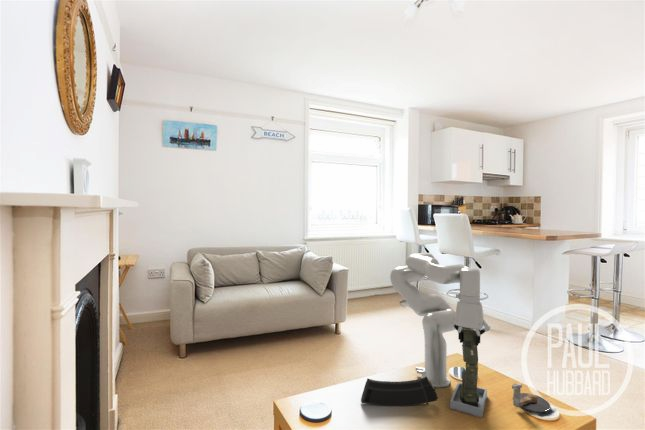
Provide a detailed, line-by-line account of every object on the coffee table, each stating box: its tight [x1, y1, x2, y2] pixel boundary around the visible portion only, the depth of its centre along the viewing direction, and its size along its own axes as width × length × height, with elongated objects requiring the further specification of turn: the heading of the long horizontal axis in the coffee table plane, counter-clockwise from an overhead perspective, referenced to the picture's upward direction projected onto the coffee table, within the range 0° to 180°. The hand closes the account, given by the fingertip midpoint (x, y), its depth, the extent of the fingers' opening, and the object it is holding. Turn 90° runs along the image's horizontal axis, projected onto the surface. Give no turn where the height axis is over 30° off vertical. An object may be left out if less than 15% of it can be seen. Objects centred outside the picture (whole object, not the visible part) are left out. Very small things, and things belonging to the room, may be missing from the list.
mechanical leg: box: [460, 327, 479, 407], centre depth 142 cm, size 14×7×30 cm, turn 168°
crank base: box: [519, 392, 551, 415], centre depth 140 cm, size 12×12×2 cm
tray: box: [449, 382, 488, 419], centre depth 142 cm, size 12×17×3 cm
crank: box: [511, 382, 538, 408], centre depth 138 cm, size 13×4×8 cm, turn 114°
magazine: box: [360, 376, 439, 407], centre depth 142 cm, size 17×3×30 cm
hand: (469, 342), depth 141 cm, fingers closed on mechanical leg, 5 cm apart
